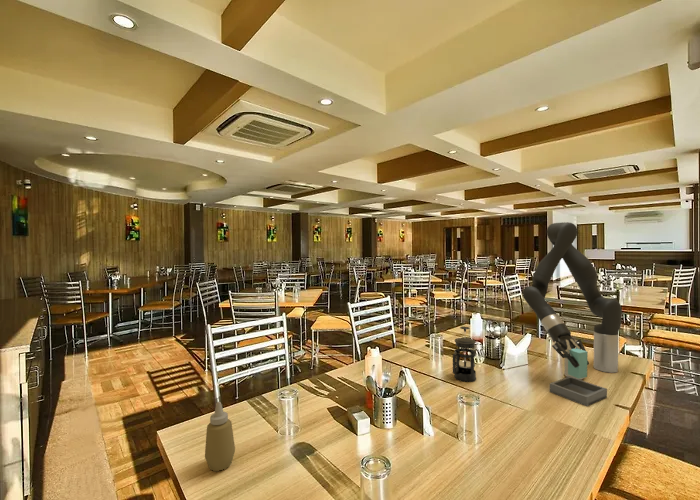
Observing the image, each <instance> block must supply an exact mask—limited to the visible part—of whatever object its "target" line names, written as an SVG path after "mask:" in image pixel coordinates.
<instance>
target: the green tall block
mask: <svg viewBox="0 0 700 500" xmlns="http://www.w3.org/2000/svg"><path fill="white" fill-rule="evenodd" d="M571 353H572V354H573V356H574V357H575V359H576V360H577V362H578V363H579V365H580V366H578V367H576V368H575V367H574V366H573V365H572V364H571V362H570V361H569V359H568V374H569V375H571V376H574V377H576V378H578V379H579V378H583V379H585V378H587V377H588V365H587V360H588V356H589V355H588V351H587V350H586V351H584V350H582V349H576V347H575V348H574V349H572V350H571ZM568 354H569V353H568Z"/></svg>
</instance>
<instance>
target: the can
mask: <svg viewBox="0 0 700 500" xmlns="http://www.w3.org/2000/svg"><path fill="white" fill-rule="evenodd" d="M563 360H564V365H563V366H564V367H563V369H564V372H563V373H564V375H565V376H566V377H569V376H570V377H573V378H576V377H574V376H571V375H569V374H568V359H567V358H564V359H563ZM566 377H565V378H566ZM576 379H578V378H576ZM583 379H584V378H579V380H582V381H583Z"/></svg>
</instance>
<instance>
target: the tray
mask: <svg viewBox="0 0 700 500" xmlns="http://www.w3.org/2000/svg"><path fill="white" fill-rule="evenodd" d="M549 393H551V394H553V395H554V394H555V395H556V396H559V397H562V398H564V399H567V400H569V401H571V402H575V403H577V404H579V405H582V406H583V407H589V406H592V405H594V404H596V403H598V402H600V401H603V400H605V399H607V398H608V388H606V387H603V386H600V385H597V384H593V383H590V382H588V381H585V380H583V379H582V380H579V379H576V378H573V377H570V376H569V377H563V378H561V379H560V378H559V379H557V380H556V381H553V382H550V383H549Z"/></svg>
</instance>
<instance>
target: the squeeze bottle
mask: <svg viewBox="0 0 700 500" xmlns="http://www.w3.org/2000/svg"><path fill="white" fill-rule="evenodd" d="M223 409H224V407H223V404H222V403H221V401H217V402H216V403H215V409H214V413H212V414H211V415H210V416H209V417H210V418H209V419H210V420H209V423H208V424H207V426H206V435H205V448H204V449H205V450H204V459H205V462H206V463H207V465H208V468H209V469H210V471H212V470H213V471H212V472H220V471H219V470H222V471H224V470H227V469H228V468H229V467H230V466H231V464H232V462H233V459H234V456H235V451H236V444H235V439H234V438H235V437H234V431H233V423H232V421H231V420H230V418H229V415H228V414H229V413H228V411H227V412H226V411H224V410H223ZM227 467H228V468H227ZM223 469H224V470H223Z"/></svg>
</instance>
